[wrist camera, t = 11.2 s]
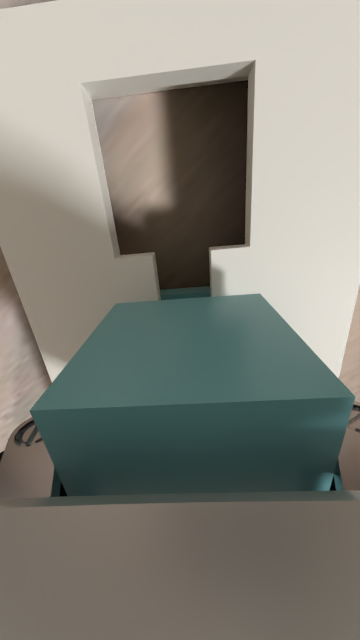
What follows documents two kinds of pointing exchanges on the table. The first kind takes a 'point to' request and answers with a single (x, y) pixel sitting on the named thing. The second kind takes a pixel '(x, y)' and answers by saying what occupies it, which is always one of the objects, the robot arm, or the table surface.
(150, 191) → the table surface
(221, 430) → the slider
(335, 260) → the keyhole deck
